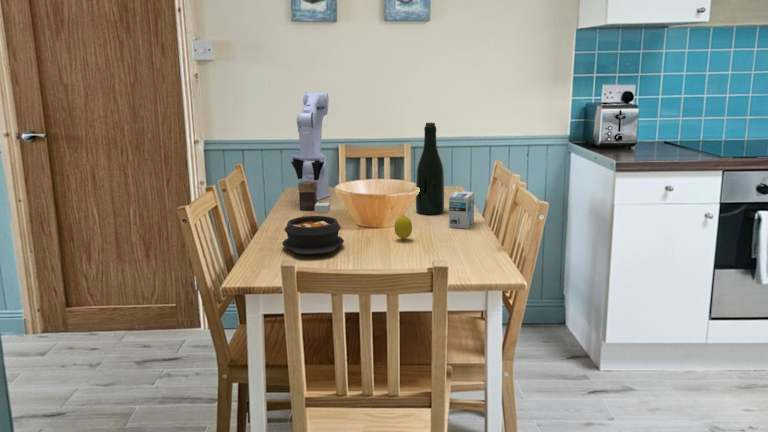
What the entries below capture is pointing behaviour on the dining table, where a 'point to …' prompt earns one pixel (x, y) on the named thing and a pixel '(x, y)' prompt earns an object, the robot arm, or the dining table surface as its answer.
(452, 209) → the light bulb box
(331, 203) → the tile
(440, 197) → the wine bottle
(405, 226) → the lemon
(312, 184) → the walnut block
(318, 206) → the grey block
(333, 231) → the casserole
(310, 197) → the box
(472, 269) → the dining table surface
